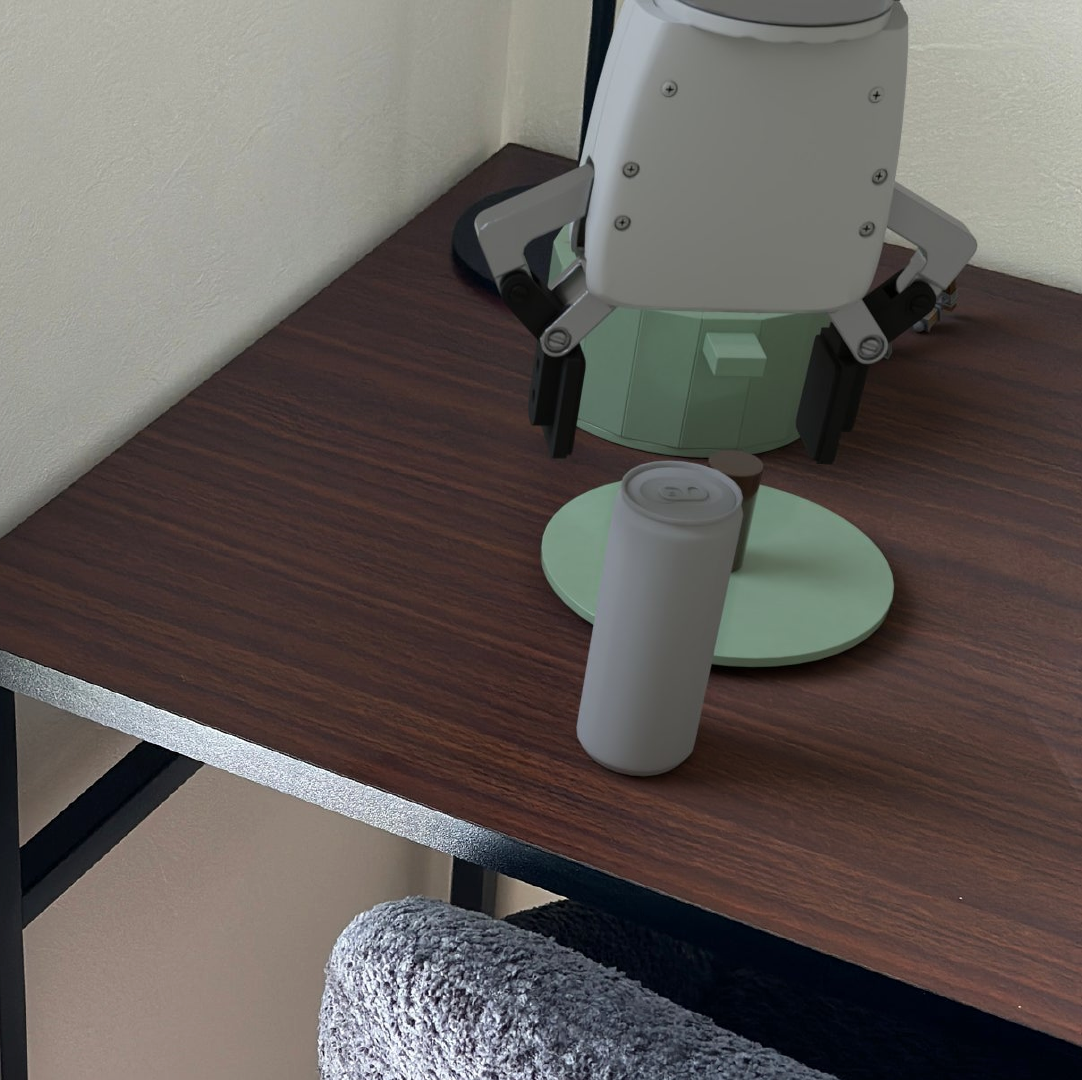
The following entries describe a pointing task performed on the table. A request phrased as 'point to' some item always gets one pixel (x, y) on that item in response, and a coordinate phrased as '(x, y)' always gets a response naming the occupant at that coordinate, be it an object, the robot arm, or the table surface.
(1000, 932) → the table surface
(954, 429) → the table surface
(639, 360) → the pot
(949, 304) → the toy blunderbuss gun
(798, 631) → the lid
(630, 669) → the beverage can
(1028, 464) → the table surface
